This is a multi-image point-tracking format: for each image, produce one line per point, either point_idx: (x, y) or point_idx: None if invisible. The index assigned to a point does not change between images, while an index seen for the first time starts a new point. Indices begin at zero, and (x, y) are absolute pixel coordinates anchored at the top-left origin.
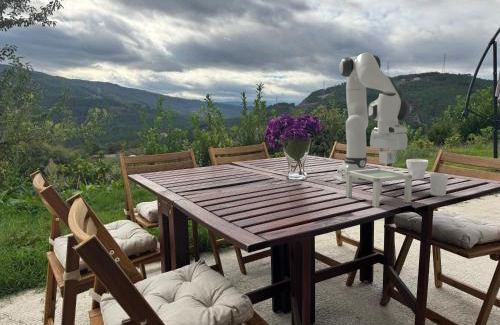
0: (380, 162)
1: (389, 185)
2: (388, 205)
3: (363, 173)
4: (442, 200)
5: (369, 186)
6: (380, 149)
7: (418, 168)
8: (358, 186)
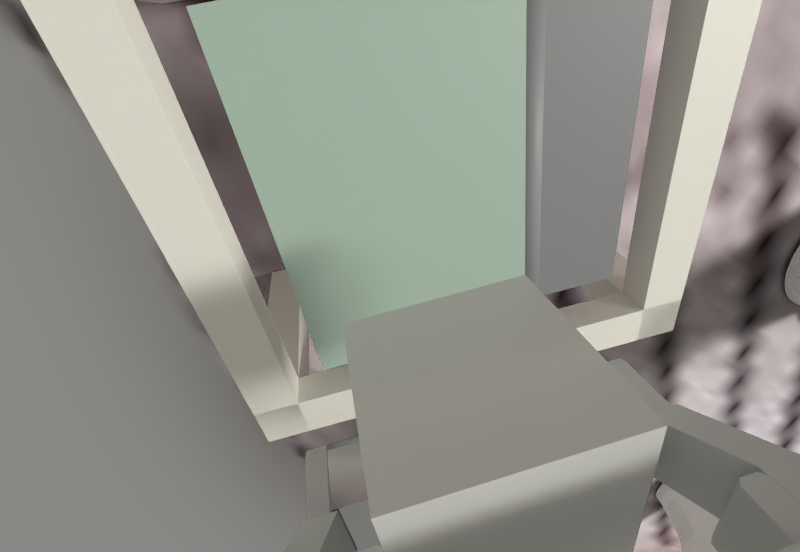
0: (498, 285)
1: (656, 355)
2: (206, 112)
3: (589, 25)
4: (301, 437)
5: (705, 254)
6: (750, 509)
7: (697, 530)
8: (749, 191)
